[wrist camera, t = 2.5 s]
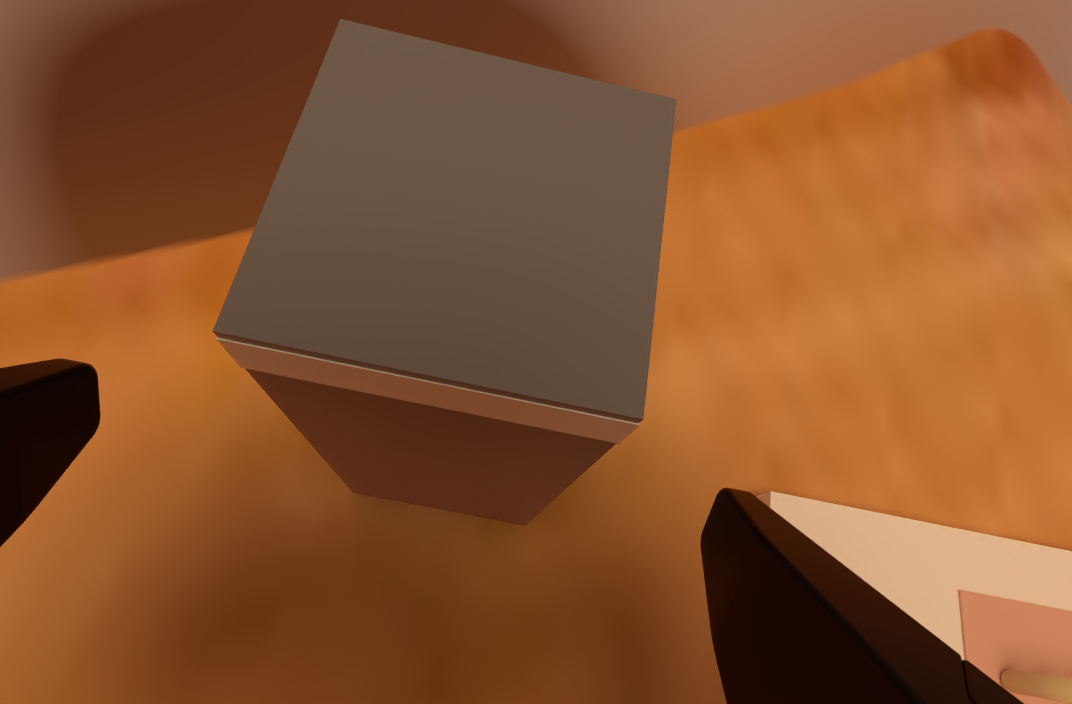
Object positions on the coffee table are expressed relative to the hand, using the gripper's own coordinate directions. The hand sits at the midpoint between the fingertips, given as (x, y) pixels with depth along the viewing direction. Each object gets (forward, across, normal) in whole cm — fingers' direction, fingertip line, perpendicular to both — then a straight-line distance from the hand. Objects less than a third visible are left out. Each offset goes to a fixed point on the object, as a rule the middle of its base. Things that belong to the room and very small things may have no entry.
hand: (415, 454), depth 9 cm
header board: (+6, -18, +8) cm, 20 cm away
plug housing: (+9, 0, +5) cm, 11 cm away
